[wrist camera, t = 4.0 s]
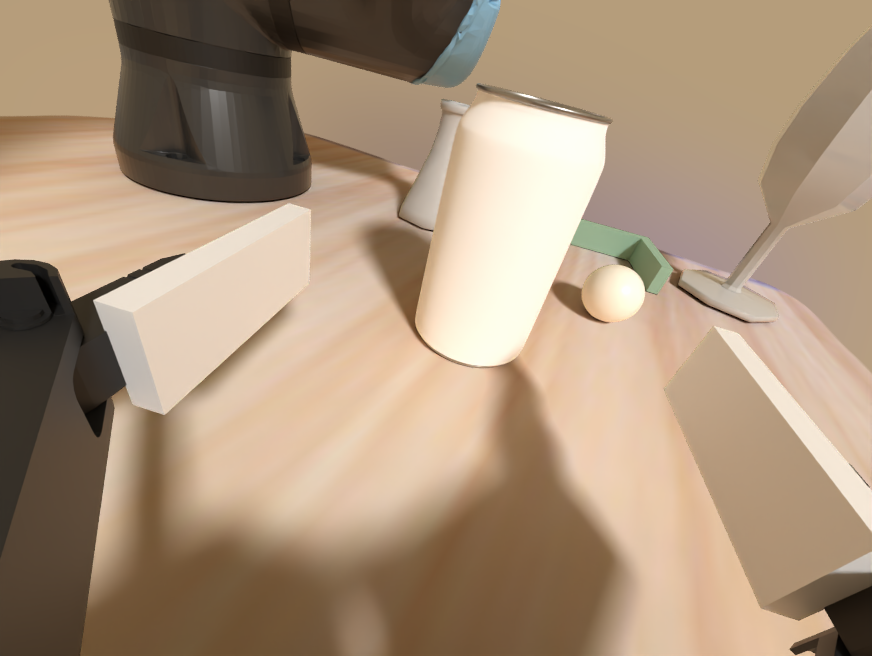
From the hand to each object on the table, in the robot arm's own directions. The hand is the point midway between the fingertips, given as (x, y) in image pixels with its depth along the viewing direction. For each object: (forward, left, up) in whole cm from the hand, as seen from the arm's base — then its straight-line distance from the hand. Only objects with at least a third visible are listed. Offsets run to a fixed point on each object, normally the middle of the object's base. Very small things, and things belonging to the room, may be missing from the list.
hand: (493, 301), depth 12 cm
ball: (-1, +17, -4) cm, 17 cm away
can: (-4, +6, -7) cm, 10 cm away
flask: (-19, +17, -7) cm, 26 cm away
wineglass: (+4, +34, -7) cm, 35 cm away
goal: (-7, +26, -6) cm, 27 cm away
